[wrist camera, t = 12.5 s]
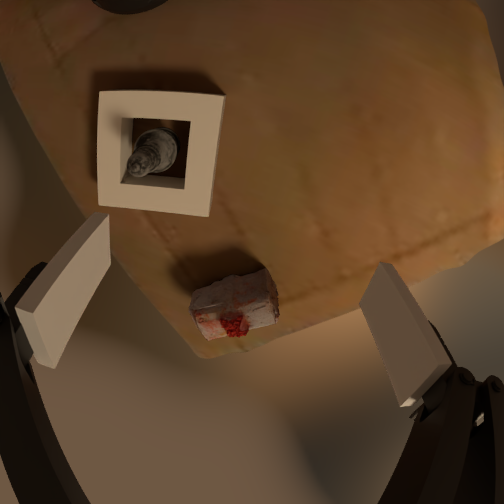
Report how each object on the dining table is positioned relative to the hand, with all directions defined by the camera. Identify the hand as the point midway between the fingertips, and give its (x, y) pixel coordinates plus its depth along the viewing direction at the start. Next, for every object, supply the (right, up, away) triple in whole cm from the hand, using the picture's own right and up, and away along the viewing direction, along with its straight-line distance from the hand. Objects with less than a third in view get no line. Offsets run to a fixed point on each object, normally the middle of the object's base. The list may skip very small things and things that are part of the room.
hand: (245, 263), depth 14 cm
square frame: (-12, +15, +25) cm, 32 cm away
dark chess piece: (-12, +15, +25) cm, 32 cm away
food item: (-3, -6, +39) cm, 39 cm away
